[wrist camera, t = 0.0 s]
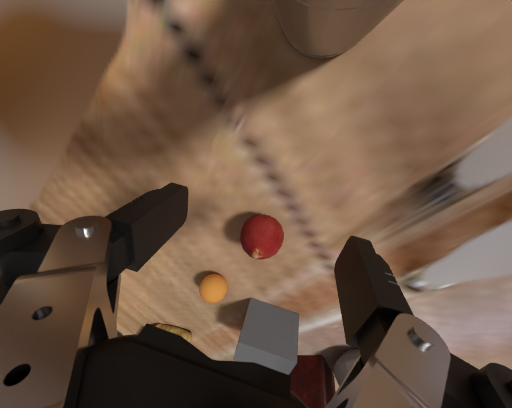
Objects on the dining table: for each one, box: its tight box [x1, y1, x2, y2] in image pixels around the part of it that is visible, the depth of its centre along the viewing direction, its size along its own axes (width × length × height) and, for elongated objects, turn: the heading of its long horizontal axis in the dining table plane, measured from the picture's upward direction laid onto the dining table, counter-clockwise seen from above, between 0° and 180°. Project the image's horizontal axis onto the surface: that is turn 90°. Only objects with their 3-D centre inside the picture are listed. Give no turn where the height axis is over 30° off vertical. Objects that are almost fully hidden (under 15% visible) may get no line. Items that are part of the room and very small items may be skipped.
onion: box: [240, 215, 284, 259], centre depth 27 cm, size 6×6×8 cm
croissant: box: [155, 324, 192, 342], centre depth 54 cm, size 21×10×8 cm, turn 121°
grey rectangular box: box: [233, 298, 299, 375], centre depth 38 cm, size 6×10×8 cm, turn 79°
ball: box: [199, 274, 227, 303], centre depth 37 cm, size 5×5×5 cm
